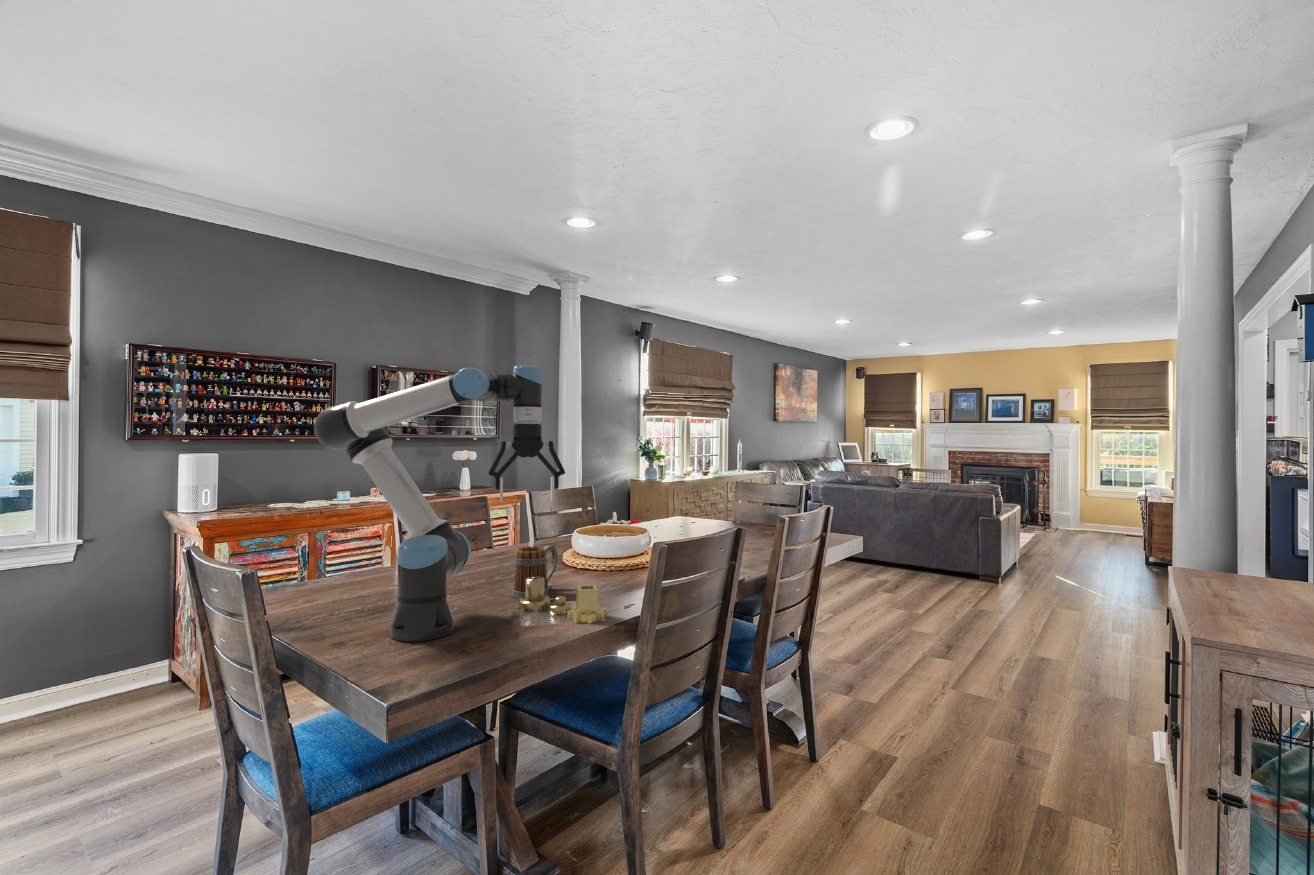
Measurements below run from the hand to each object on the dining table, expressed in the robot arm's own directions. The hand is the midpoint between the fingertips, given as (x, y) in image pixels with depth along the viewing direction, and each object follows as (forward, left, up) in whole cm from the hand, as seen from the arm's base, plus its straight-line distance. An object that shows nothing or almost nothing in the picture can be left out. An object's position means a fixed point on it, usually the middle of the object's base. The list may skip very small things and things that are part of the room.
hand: (527, 501), depth 167 cm
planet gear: (+15, -8, -30) cm, 35 cm away
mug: (+4, +21, -32) cm, 38 cm away
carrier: (+9, -1, -32) cm, 33 cm away
